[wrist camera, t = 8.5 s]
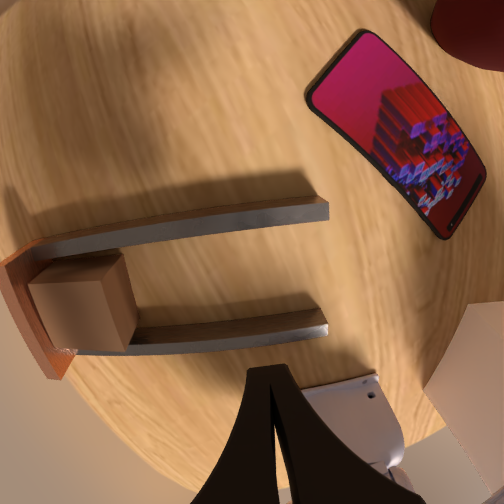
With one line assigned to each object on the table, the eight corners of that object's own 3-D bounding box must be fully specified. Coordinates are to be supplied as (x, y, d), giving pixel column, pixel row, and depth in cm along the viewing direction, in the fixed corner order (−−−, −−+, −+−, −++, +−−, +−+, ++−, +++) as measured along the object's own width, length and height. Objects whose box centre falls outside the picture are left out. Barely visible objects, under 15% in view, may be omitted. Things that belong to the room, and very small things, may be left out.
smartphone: (367, 24, 12) (489, 173, 16) (361, 28, 13) (483, 171, 17) (300, 101, 14) (445, 246, 18) (297, 103, 15) (439, 242, 19)
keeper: (124, 253, 17) (100, 280, 14) (140, 316, 19) (125, 351, 15) (56, 259, 17) (27, 284, 13) (76, 317, 19) (54, 347, 15)
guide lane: (318, 195, 17) (349, 216, 12) (320, 319, 20) (341, 365, 15) (32, 240, 16) (-8, 268, 12) (71, 339, 20) (47, 378, 15)
